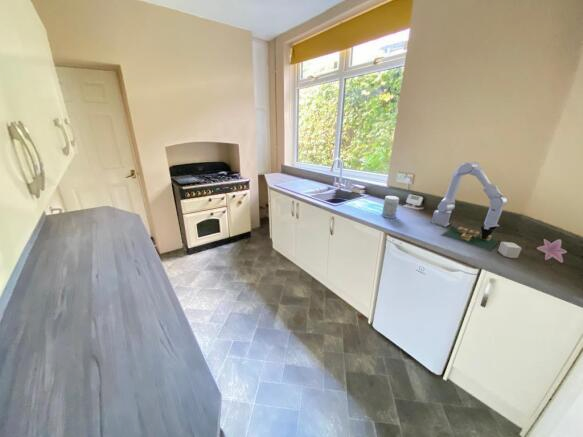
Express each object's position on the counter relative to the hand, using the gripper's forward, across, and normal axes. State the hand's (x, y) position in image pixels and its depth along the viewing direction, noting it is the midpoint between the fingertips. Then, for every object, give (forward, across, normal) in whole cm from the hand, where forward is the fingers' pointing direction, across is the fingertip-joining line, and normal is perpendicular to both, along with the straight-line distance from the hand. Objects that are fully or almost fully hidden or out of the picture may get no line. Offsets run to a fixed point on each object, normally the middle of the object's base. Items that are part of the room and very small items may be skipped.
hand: (485, 237), depth 141 cm
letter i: (+1, 0, +12) cm, 12 cm away
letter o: (+1, -10, +7) cm, 12 cm away
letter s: (+1, 0, 0) cm, 1 cm away
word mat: (+1, -6, +6) cm, 9 cm away
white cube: (+2, -13, -13) cm, 18 cm away
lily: (+2, +1, -27) cm, 27 cm away
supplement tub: (+2, -12, +56) cm, 57 cm away
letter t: (+1, 0, +6) cm, 6 cm away
